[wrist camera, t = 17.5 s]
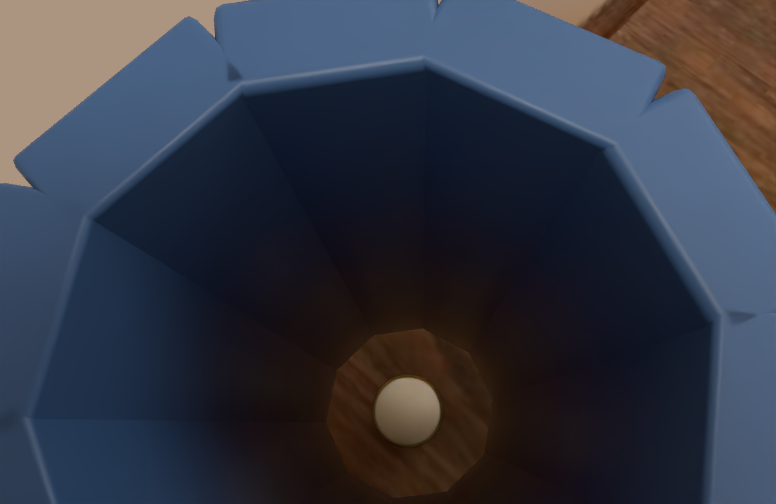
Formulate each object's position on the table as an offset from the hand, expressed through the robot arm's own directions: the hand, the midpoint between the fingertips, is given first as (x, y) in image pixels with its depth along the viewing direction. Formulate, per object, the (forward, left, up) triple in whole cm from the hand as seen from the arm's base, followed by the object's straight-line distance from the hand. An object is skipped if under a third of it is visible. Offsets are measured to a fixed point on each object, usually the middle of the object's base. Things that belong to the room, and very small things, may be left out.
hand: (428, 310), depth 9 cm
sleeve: (-1, 0, -7) cm, 7 cm away
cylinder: (-1, 0, -11) cm, 11 cm away
